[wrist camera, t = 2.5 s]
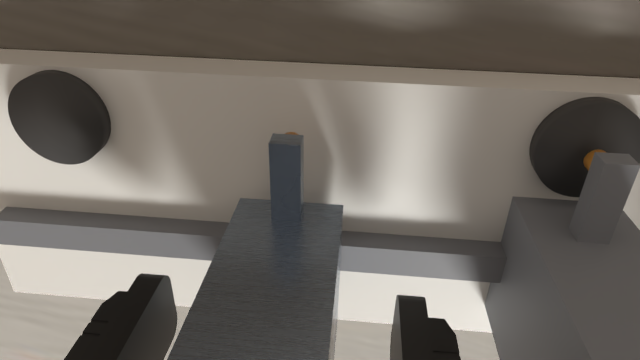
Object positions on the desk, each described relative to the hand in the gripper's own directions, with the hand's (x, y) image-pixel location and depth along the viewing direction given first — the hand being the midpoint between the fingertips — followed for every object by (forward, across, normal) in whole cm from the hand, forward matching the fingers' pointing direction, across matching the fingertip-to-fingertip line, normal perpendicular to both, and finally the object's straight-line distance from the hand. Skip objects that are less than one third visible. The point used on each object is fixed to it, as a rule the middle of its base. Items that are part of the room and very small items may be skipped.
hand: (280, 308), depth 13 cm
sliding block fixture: (+5, 0, -1) cm, 5 cm away
